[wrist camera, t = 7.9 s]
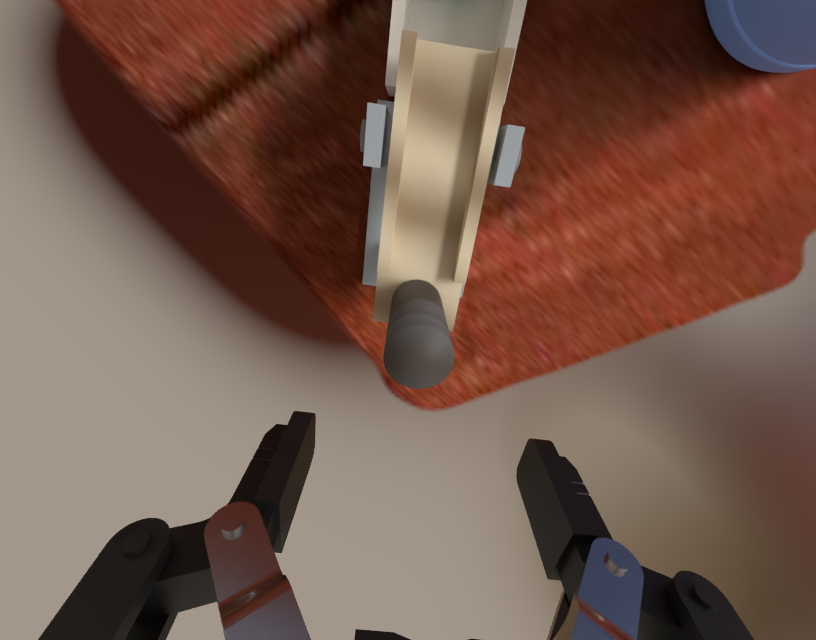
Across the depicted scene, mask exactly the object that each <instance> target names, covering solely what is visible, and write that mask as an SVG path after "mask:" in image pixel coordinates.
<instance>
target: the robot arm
mask: <svg viewBox="0 0 816 640" xmlns="http://www.w3.org/2000/svg"><path fill="white" fill-rule="evenodd" d="M315 419H316V416H315V413H308V412H299V411H294V412H293V414H292V416H291V418H290V420H289V423H288V425H281V424H276V425H275V426H274V427H273V428H272V429H270V430H269V431H268V432H267V433H266V434H265V436H264V437H263V439H262V441H261V443H260V445H259V448H258V449H257V451H256V453H255V455H254V456H253V459H252V460H251V462H250V464H249V466H248V468H247V470H246V472H245V474H244V476H243V477H242V479H241V481H240V483H239V485H238V487H237V489H236V491H235V493H234V495H233V496H232V498H231V500H230V502H229V503H228V504H227V505H226V506H224V507H222V508H221V509H219V510H218V511H217V512H216V513H215V514H214V515H213V516H212V517H211V518H209V519H207V520H204V521H201V522H197V523H193V524H188V525H183V526H179V527H174V528H169V526H168V524H167V523H166V522H165V521H163V520H161V519H158V518H147V519H142V520H139V521H136V522H134V523H131V524H129V525H128V526H126V527H125V528H123V529H121V530H120V531H119V532H118V533H116V534H115V535H114V536H113V537H112V538H111V539H110V540H109V542H108V543H107V544H106V546H105V547H104V548H103V550H102V551H101V553H100V554H99V555H98V557H97V558H96V560H95V561H94V562H93V564H92V565H91V567H90V568H89V569H88V571H87V573H86V574H85V575H84V577H83V578H82V579H81V581H80V582H79V583H78V585H77V586H76V588H75V589H74V590H73V592H72V593H71V595H70V596H69V597H68V599H67V600H66V601H65V603H64V604H63V606H62V607H61V609H60V610H59V612H58V613H57V614H56V615H55V617H54V619H53V620H52V621H51V622H50V624H49V625H48V627H47V628H46V629H45V631H44V632H43V634H42V635H41V637H40V638H39V639H38V640H166V638H167V636H168V633H169V631H170V629H171V627H172V625H173V623H174V620H175V618H176V616H177V614H178V612H181V611H185V610H188V609H192V608H195V607H199V606H203V605H206V604H210V603H213V602H217V603H218V607H219V612H220V617H221V622H222V626H223V631H224V636H225V640H311V639H310V636H309V633H308V631H307V628H306V625H305V623H304V620H303V617H302V615H301V612H300V609H299V607H298V604H297V601H296V598H295V596H294V593H293V590H292V588H291V585H290V583H289V580H288V579H287V577H286V576H285V575H283V574H282V572H281V570H280V567H279V564H278V561H277V559H276V556H275V553H274V552H276V553H282V550H283V547H284V544H285V541H286V538H287V535H288V532H289V529H290V526H291V523H292V520H293V517H294V514H295V511H296V508H297V505H298V501H299V498H300V496H301V492H302V489H303V486H304V483H305V480H306V477H307V474H308V471H309V468H310V465H311V462H312V458H313V454H314V448H315V421H316V420H315ZM517 483H518V486H519V490H520V492H521V496H522V499H523V502H524V505H525V509H526V511H527V515H528V518H529V521H530V524H531V527H532V531H533V534H534V537H535V540H536V543H537V547H538V550H539V552H540V556H541V559H542V562H543V566H544V569H545V572H546V575H547V578H548V579H551V580H561V582H562V585H563V588H564V590H563V592H562V594H561V597H560V600H559V603H558V606H557V609H556V612H555V616H554V619H553V622H552V625H551V628H550V631H549V634H548V637H547V640H754V639H753V637H752V636H751V634H750V633H749V631H748V630H747V628H746V627H745V625H744V624H743V622H742V621H741V619H740V618H739V616H738V615H737V613H736V611H735V610H734V608H733V607H732V605H731V604H730V602H729V601H728V600H727V598H726V597H725V596H724V595H723V593H722V592H721V591H720V590H719V589H718V588H717V587H716V586H714V585H713V584H712V583H711V582H710V581H708V580H707V579H705V578H703V577H702V576H700V575H698V574H696V573H694V572H690V571H680V572H678V573H677V574H676V575H675V576H674V578H673V579H672V578H669V577H667V576H665V575H662V574H660V573H657V572H655V571H652V570H650V569H648V568H645V567H643V566H641V565H640V564H639V562H638V561H637V559H636V558H635V557H634V556H633V554H632V553H631V552H630V551H629V550H628V549H627V548H625V547H624V546H623V545H621V544H620V543H618V542H616V541H614V540H613V539H612V537H611V535H610V533H609V531H608V529H607V527H606V525H605V523H604V522H603V520H602V518H601V516H600V514H599V512H598V510H597V508H596V506H595V504H594V502H593V500H592V498H591V497H590V496H589V493H588V491H587V489H586V487H585V485H583V481H582V479H581V477H580V475H579V474H578V471H577V469H576V468H575V467H574V466H573V465H572V464H571V463H570V462H569V461H568V460H567V459H566V457H561V456H559V454H558V452H557V450H556V448H555V446H554V444H553V443H552V442H551V441H549V440H540V439H529V440H528V441H527V444H526V446H525V449H524V451H523V454H522V456H521V459H520V462H519V464H518V467H517ZM355 640H410V639H408V638H405V637H403V636H401V635H398V634H396V633H393V632H381V631H370V630H358V629H356V632H355ZM469 640H478V639H469Z"/></svg>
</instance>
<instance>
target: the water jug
mask: <svg viewBox="0 0 816 640" xmlns="http://www.w3.org/2000/svg"><path fill="white" fill-rule="evenodd" d="M705 7H706V12H707V16H708V19H709V22H710V25H711V28H712V30H713V32H714V34H715V36H716V38H717V39H718V41H719V43H720V44H721V45H722V47H723V48H724V49H725V50H726V51H727V52H728V53H729V54H730V55H731V56H732V57H733V58H735V59H736V60H737V61H739V62H740V63H742V64H744V65H746V66H748V67H751V68H753V69H756V70H760V71H765V72H772V73H789V72H798V71H803V70H808V69H813V68H816V0H705Z"/></svg>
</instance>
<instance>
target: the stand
mask: <svg viewBox="0 0 816 640" xmlns="http://www.w3.org/2000/svg"><path fill="white" fill-rule="evenodd" d="M393 111H394V102H391V101H385V100H379V99H378V101H377V104H375V103H368V104H367V118H366V119H363V120H362V123H361V131H360V151H361V152H364V159H363V166H369V167H372V174H371V186H370V198H369V210H368V222H367V234H366V246H365V258H364V270H363V282H362V284H364V285H371V286H376V284H377V275H378V272H377V266H378V256H379V247H380V237H381V227H382V218H383V208H384V198H385V189H386V179H387V169H388V159H389V144H390V134H391V129H392V121H393ZM500 121H501V119H500ZM499 126H500V123H499ZM524 131H525V127H521V126H514V125H505V126H502V127H499V128H498V133H497V137H496V142H495V147H494V152H493V156H492V161H491V166H490V171H489V175H488V180H487V183H490V184H492V185H497V186H504V187H511V183H512V179H513V175H514V173H515V172H516V170H517V168H518V165H519V162H520V159H521V154H522V144H521V143H522V139H523V135H524ZM485 190H486V189H485ZM464 285H465V284H462V289H461V294H460V297H462V295H463V290H464Z"/></svg>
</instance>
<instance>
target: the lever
mask: <svg viewBox="0 0 816 640" xmlns="http://www.w3.org/2000/svg"><path fill="white" fill-rule="evenodd" d="M514 52H515V49H514V48H508V47H502V46H500V47H499V49H498V50H497V52H491V51H485V50H479V49H473V48H467V47H461V46H455V45H449V44H443V43H437V42H431V41H425V40H419V39H417V32H413V31H407V30H402V34H401V43H400V53H399V63H398V72H397V82H396V92H395V101H394V111H393V121H392V129H391V134H390V144H389V159H388V169H387V179H386V189H385V198H384V208H383V218H382V227H381V237H380V247H379V256H378V266H377V272H378V275H377V284H376V294H375V303H374V313H373V321H377V322H385V323H388V329H387V336H386V342H385V349H384V365H385V368H386V370H387V372H388V374H389V375H390V376H391V377H392V378H393V379H394V380H395V381H396V382H398V383H399V384H401V385H403V386H406V387H409V388H415V389H422V388H428V387H432V386H434V385H437V384H438V383H440V382H441V381H443V380H444V379H445V378H446V377H447V376H448V375H449V373H450V372H451V370H452V368H453V365H454V359H455V355H454V350H453V345H452V341H451V337H450V333H449V331H453V327H454V323H455V318H456V313H457V308H458V303H459V298H460V294H461V289H462V284H466V279H467V275H468V270H469V265H470V260H471V256H472V251H473V246H474V241H475V237H476V232H477V227H478V223H479V218H480V213H481V208H482V204H483V199H484V194H485V189H486V185H487V180H488V175H489V171H490V166H491V161H492V156H493V152H494V147H495V142H496V137H497V133H498V128H499V123H500V118H501V114H502V109H503V104H504V100H505V95H506V90H507V85H508V81H509V76H510V71H511V66H512V62H513V57H514Z"/></svg>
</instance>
